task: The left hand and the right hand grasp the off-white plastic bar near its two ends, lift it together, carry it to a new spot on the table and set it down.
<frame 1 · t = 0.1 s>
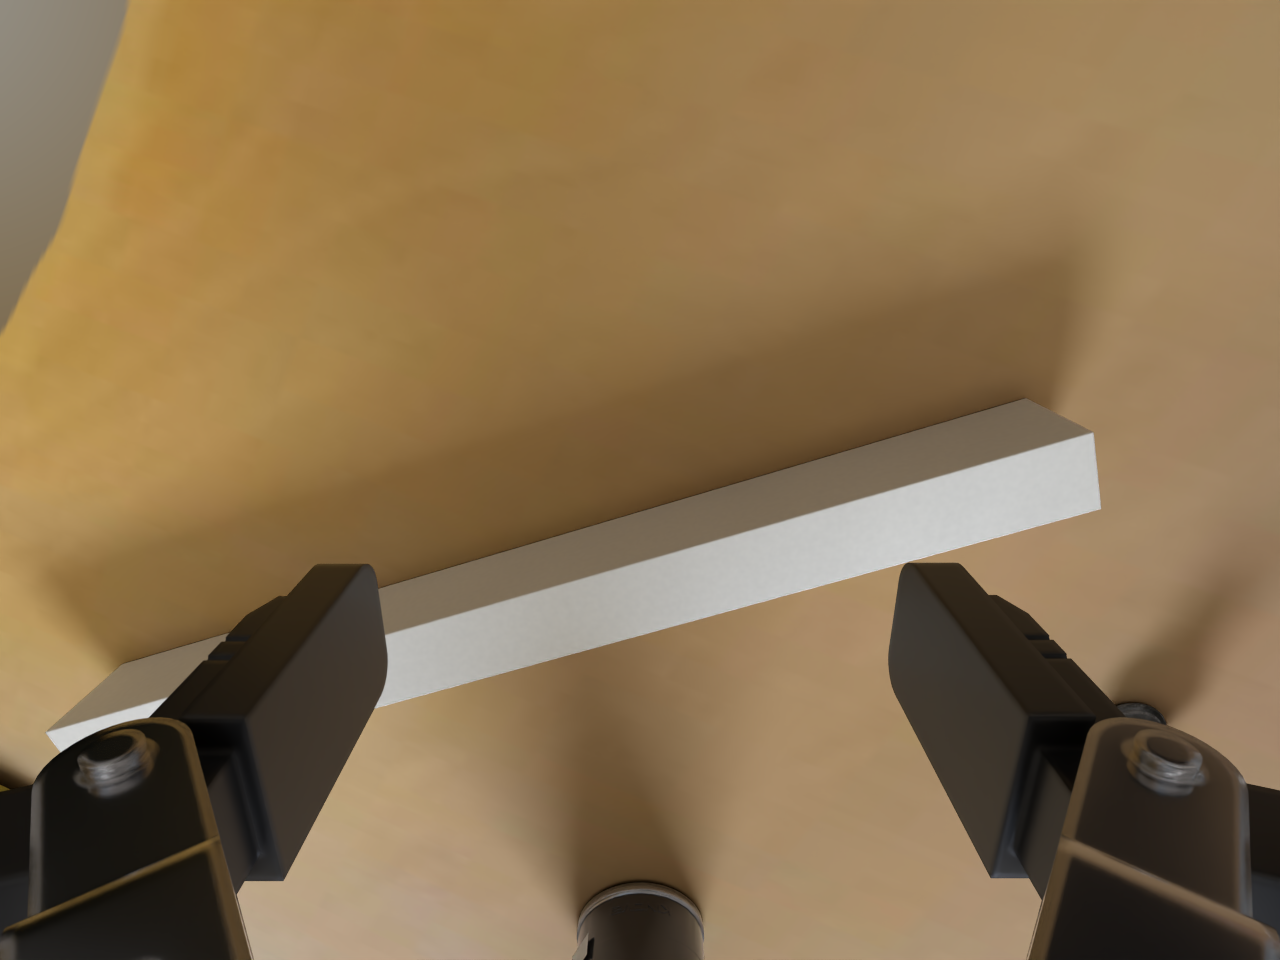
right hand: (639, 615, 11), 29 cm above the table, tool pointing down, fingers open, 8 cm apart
bar: (553, 569, 44), on the table
salt shaker: (1122, 733, 48), on the table
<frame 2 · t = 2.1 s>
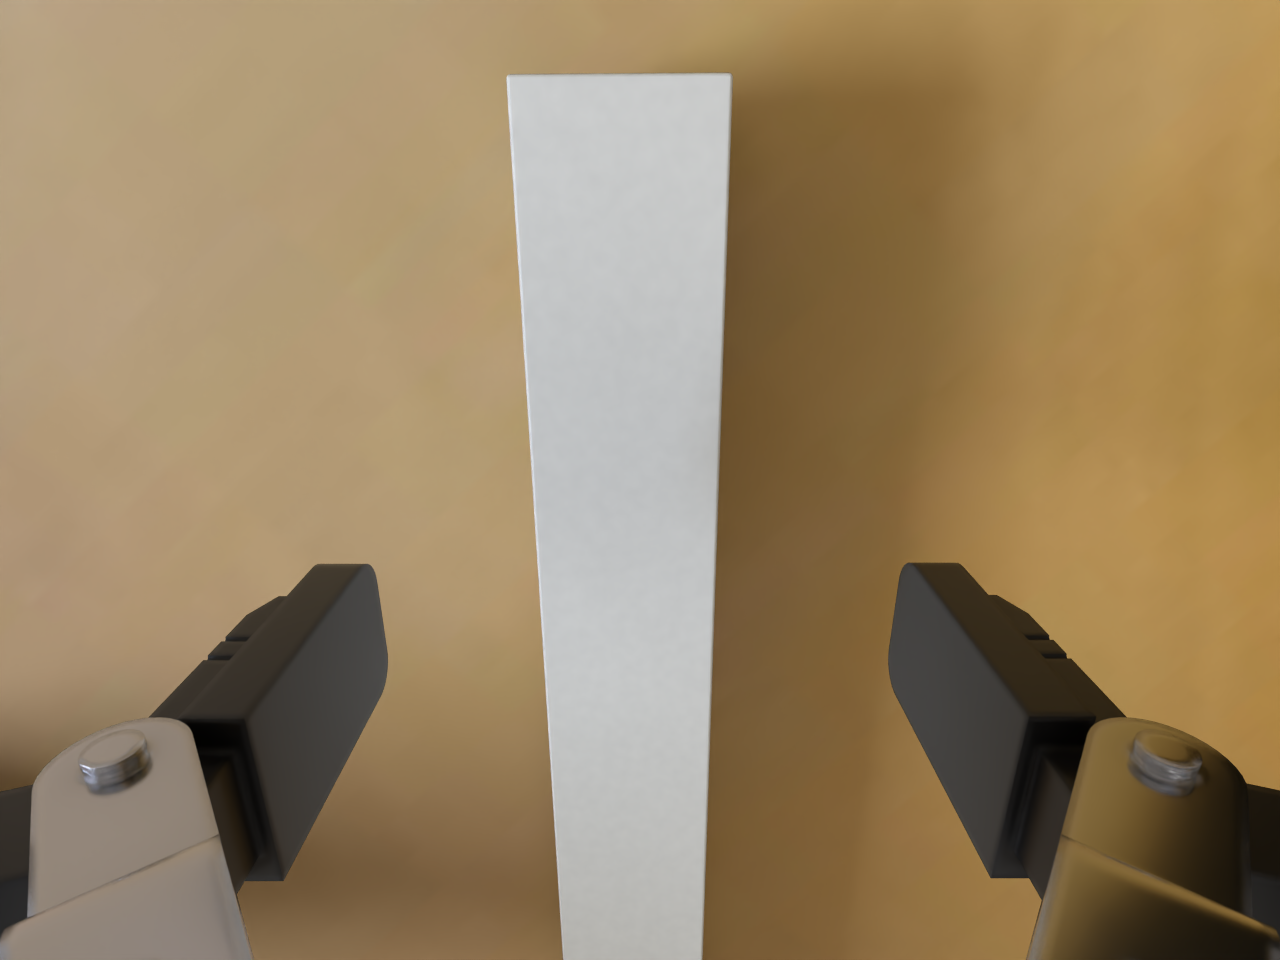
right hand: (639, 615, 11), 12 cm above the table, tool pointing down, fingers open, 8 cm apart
bar: (634, 897, 29), on the table
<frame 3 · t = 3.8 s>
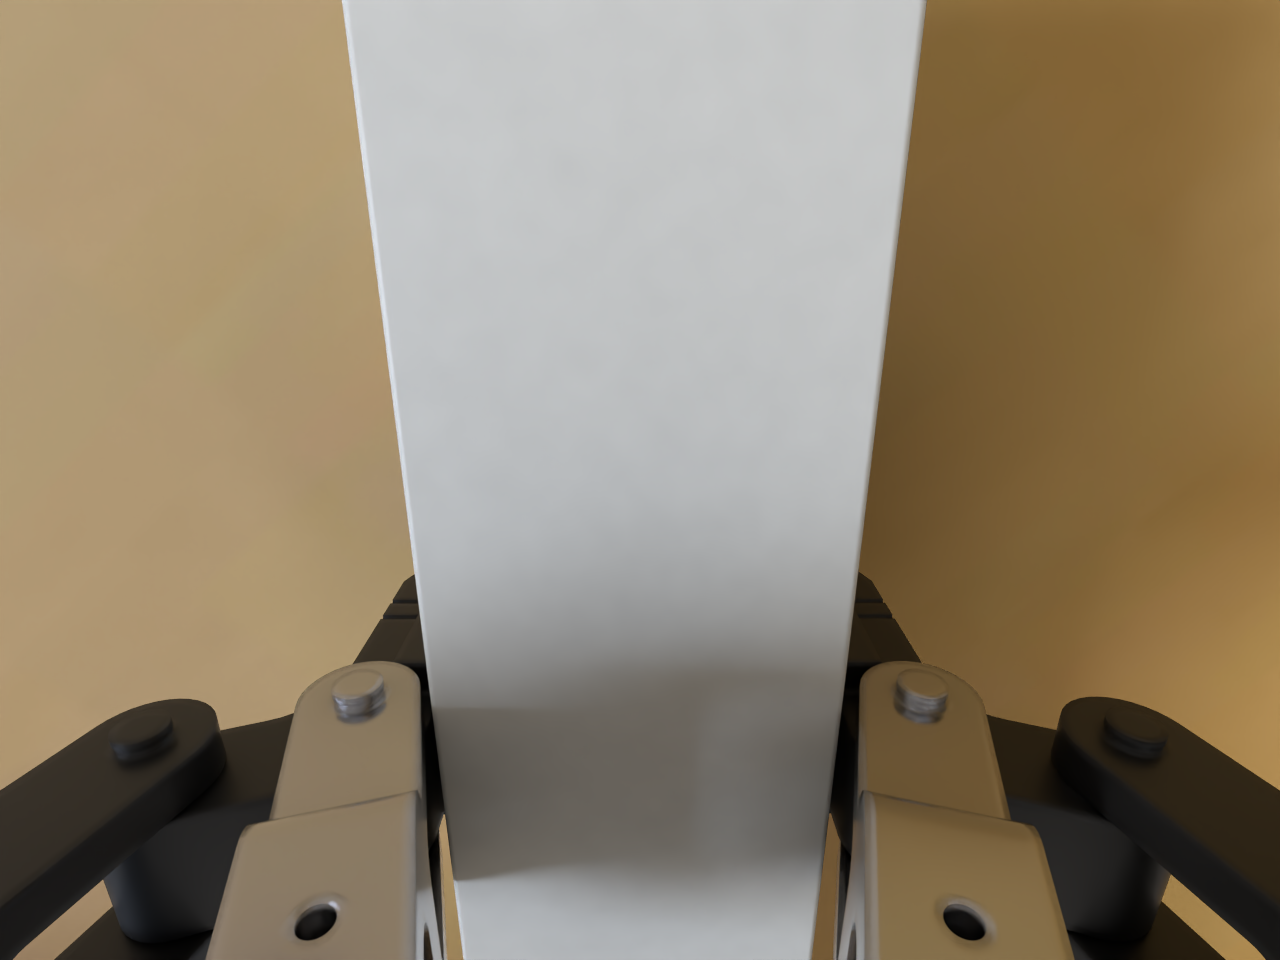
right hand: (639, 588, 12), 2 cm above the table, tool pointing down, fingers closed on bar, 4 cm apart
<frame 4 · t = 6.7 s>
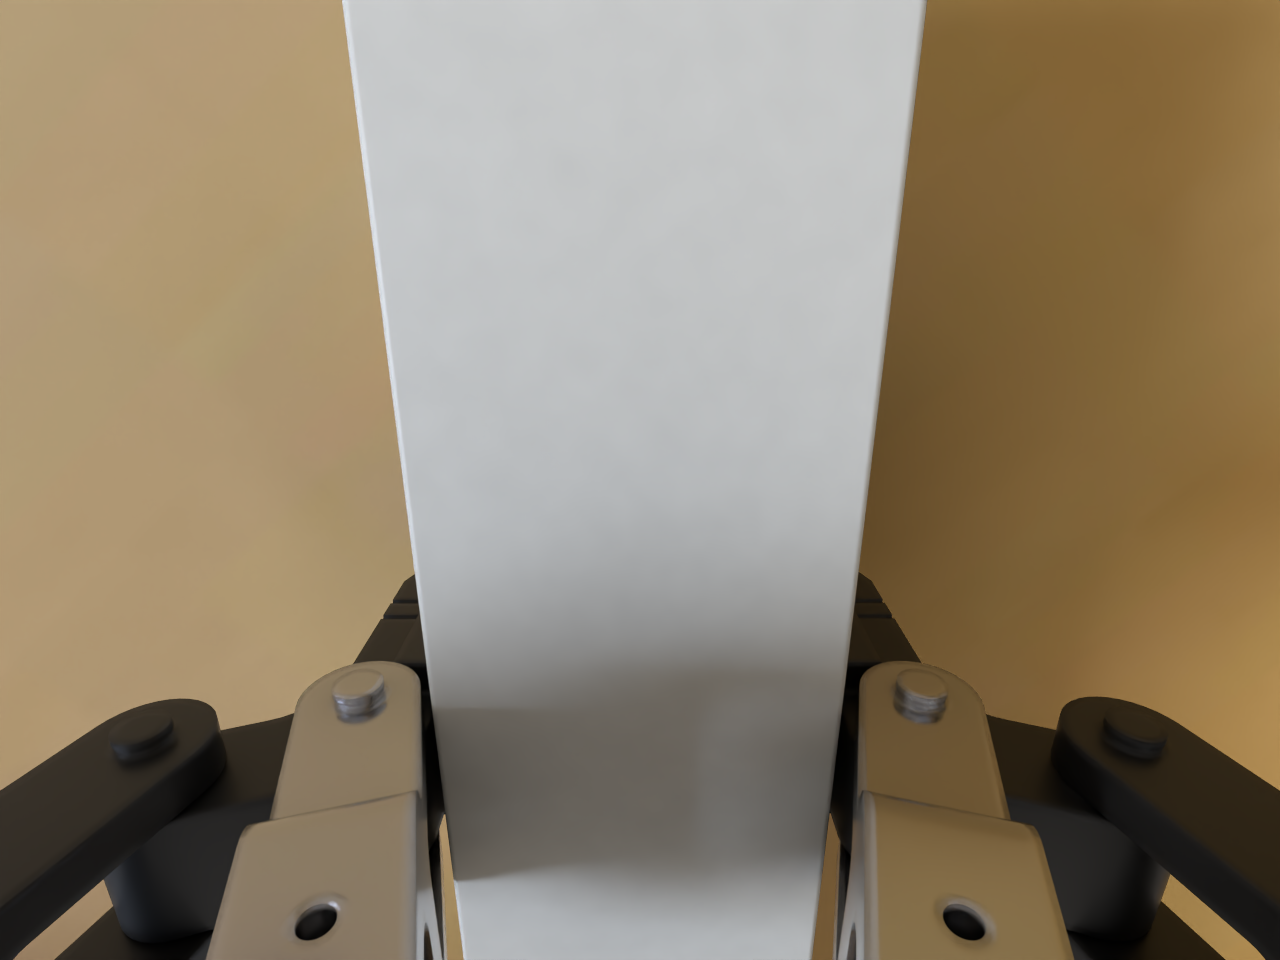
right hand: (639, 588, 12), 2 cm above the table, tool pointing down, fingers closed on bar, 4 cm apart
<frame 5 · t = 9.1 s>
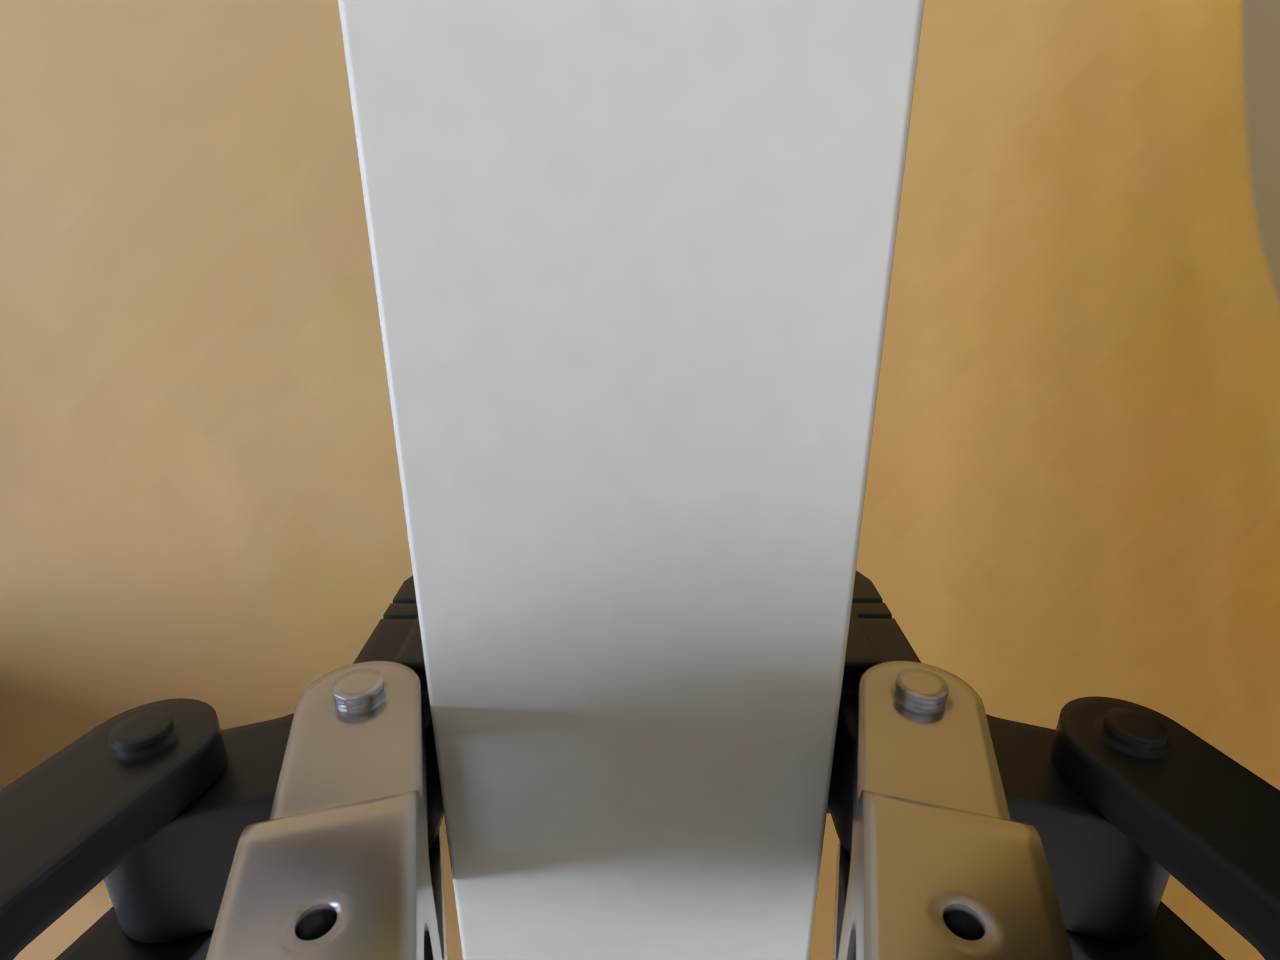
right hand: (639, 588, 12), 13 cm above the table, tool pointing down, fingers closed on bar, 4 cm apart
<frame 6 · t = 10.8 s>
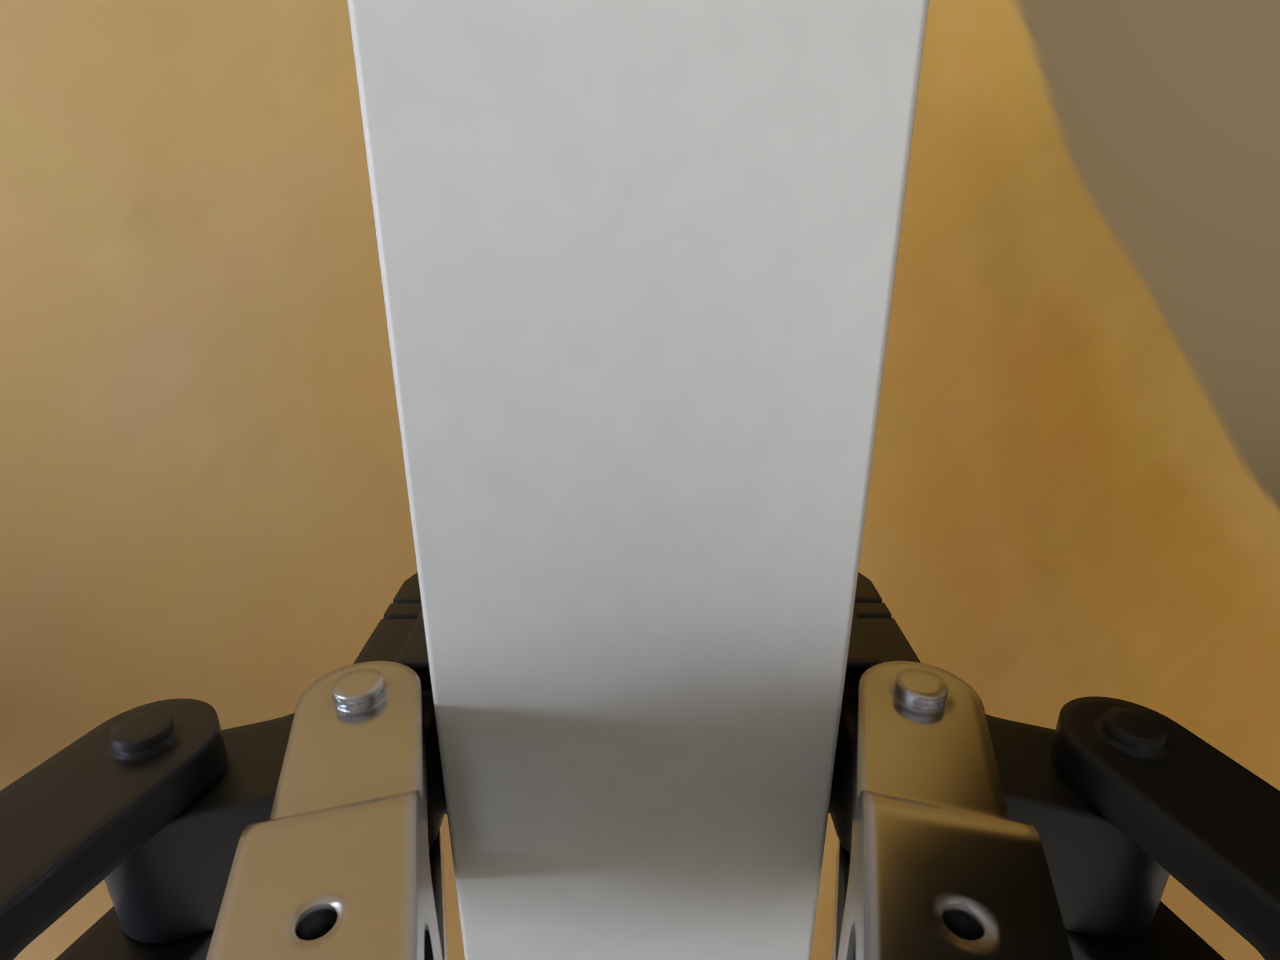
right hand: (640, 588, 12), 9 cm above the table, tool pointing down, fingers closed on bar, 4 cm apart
when the left hand's fingers open (5 cm above the table, at t = 11.8 s): bar drops 1 cm, on the table.
when the right hand's fingers open (3 cm above the table, at t = 11.8 s): bar drops 1 cm, on the table.
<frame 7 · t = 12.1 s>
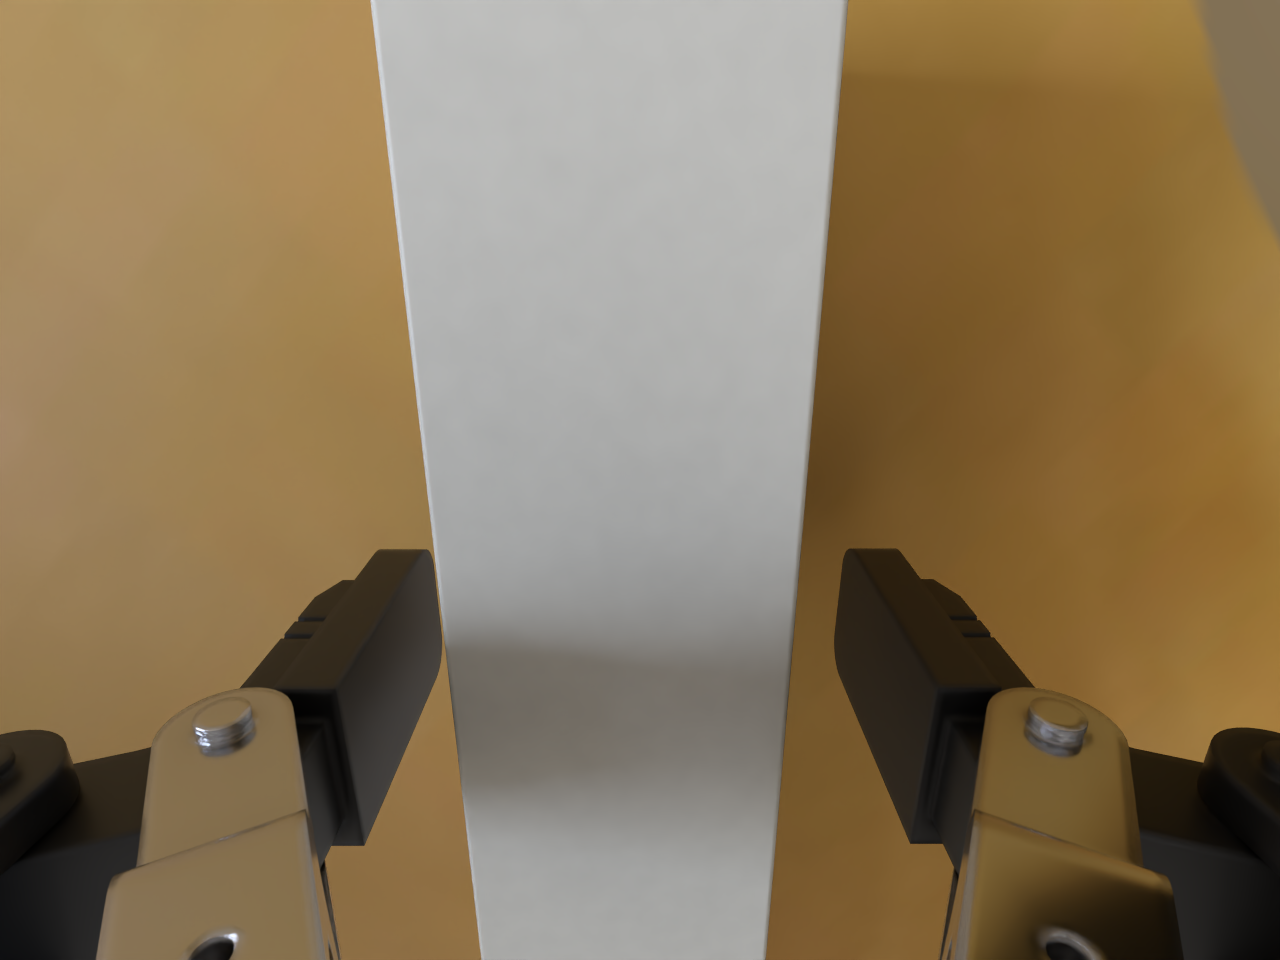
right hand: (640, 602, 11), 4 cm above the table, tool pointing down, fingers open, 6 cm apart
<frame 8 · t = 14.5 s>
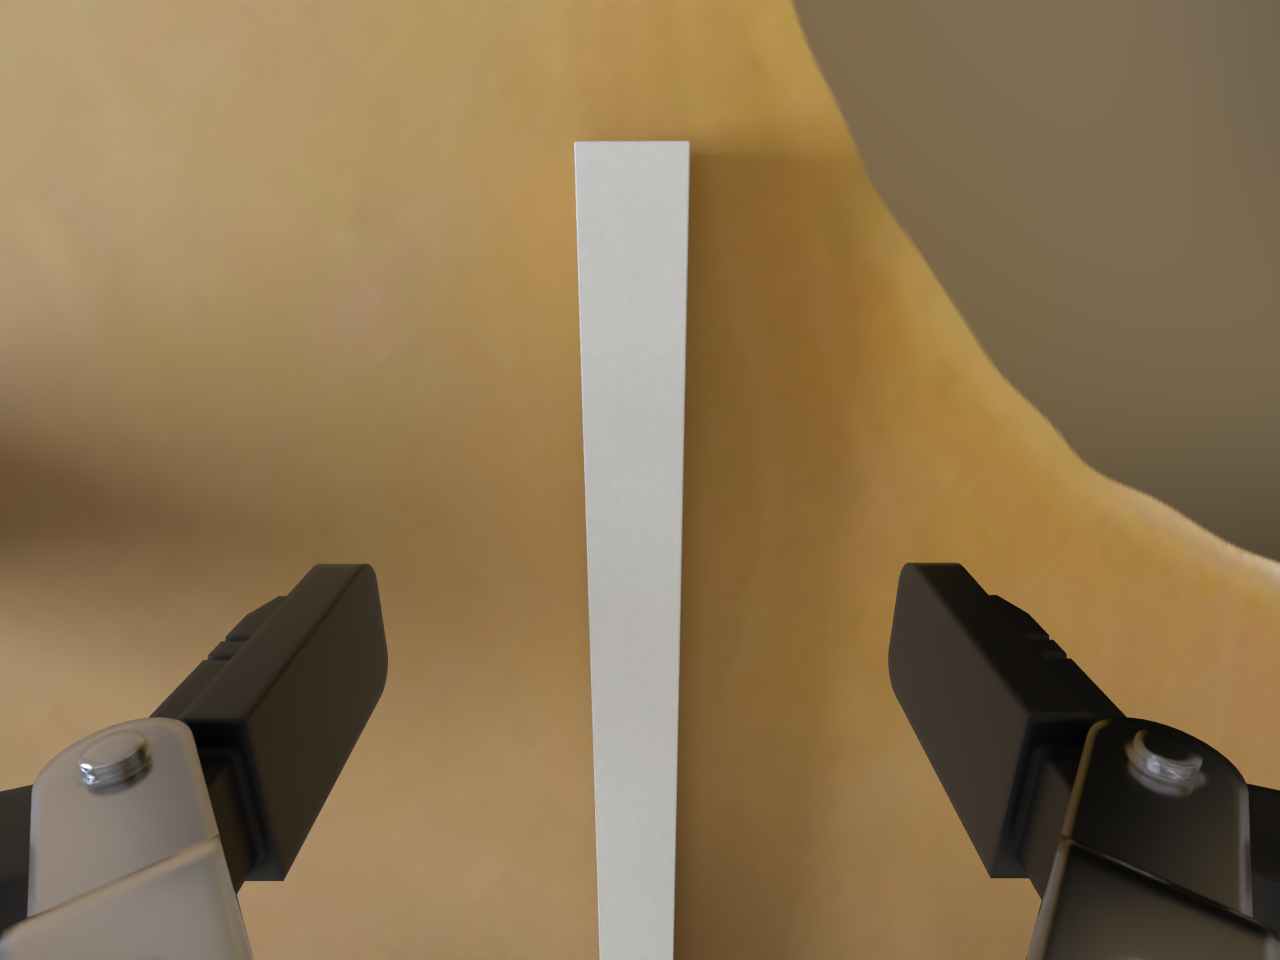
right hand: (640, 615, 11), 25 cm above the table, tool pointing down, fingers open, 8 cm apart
bar: (636, 692, 42), on the table
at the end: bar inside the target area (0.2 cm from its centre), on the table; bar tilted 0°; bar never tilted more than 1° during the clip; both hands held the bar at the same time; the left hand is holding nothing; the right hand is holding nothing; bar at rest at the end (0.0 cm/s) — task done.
